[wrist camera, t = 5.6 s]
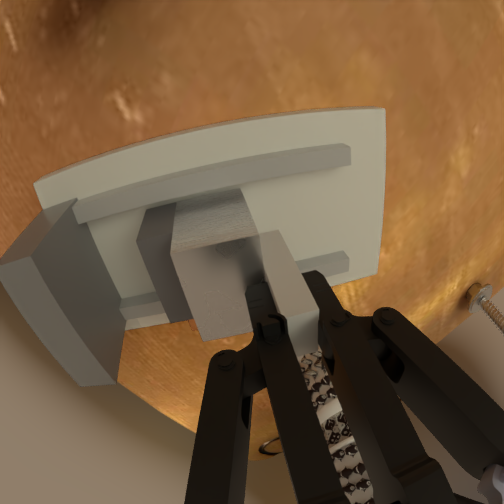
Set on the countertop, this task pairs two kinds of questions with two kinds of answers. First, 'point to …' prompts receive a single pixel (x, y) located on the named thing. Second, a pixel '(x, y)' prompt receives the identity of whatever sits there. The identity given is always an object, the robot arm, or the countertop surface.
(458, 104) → the countertop surface
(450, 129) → the countertop surface
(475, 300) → the screw
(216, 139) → the base
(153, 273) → the dark grey upright block
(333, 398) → the decorative candle
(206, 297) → the plunger
